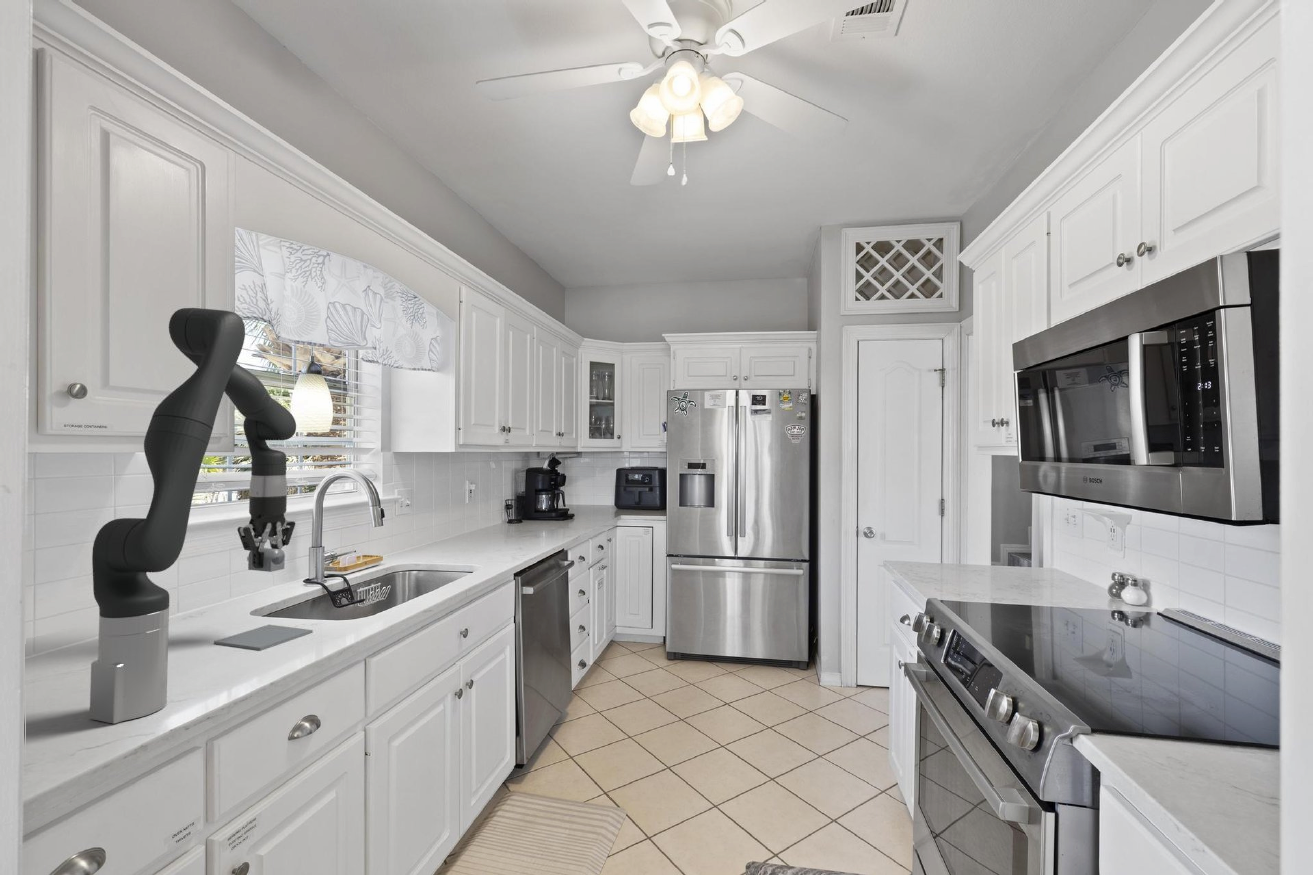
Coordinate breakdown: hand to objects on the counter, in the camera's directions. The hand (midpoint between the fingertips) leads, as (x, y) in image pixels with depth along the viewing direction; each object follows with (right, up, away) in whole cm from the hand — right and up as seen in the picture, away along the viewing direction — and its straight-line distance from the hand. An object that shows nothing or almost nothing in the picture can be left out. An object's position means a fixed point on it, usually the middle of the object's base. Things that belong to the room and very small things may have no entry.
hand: (266, 565), depth 144 cm
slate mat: (0, -17, 0) cm, 17 cm away
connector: (0, -1, 0) cm, 1 cm away
